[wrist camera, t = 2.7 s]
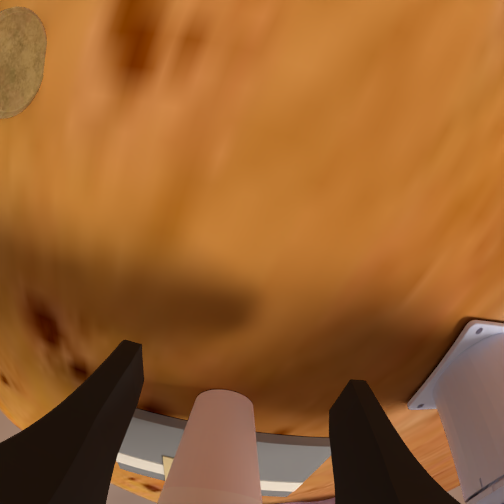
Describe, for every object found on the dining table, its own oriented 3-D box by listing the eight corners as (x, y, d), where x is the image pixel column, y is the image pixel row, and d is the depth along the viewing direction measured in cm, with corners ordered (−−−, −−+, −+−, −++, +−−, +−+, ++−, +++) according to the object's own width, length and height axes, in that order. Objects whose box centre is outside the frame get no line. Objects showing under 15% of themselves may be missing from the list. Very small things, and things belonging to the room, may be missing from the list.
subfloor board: (337, 438, 21) (338, 448, 20) (286, 490, 27) (286, 498, 26) (98, 396, 20) (94, 407, 19) (122, 462, 26) (120, 469, 26)
